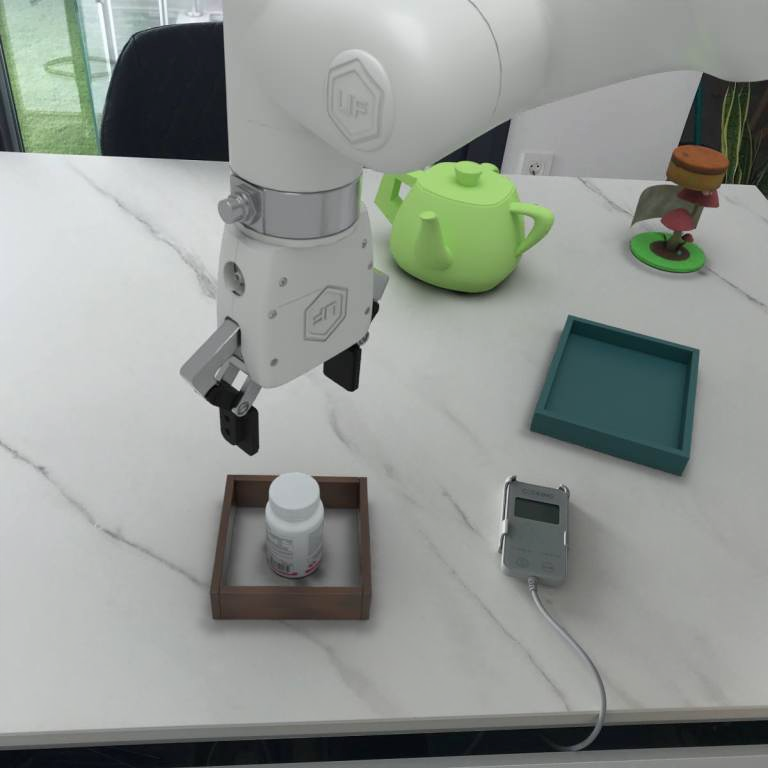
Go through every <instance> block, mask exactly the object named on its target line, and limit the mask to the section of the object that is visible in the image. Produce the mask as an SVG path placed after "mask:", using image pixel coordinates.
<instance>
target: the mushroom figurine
mask: <svg viewBox="0 0 768 768" xmlns="http://www.w3.org/2000/svg"><path fill="white" fill-rule="evenodd" d="M729 165H730V160H729V159H728V157H727V156H726V155H725V154H724V153H722V152H720V151H718V150H716V149H713V148H711V147H706V146H701V145H696V144H685V145H680V146H677V147H675V148H674V149H673V151H672V154H671V156H670V160H669V163H668V165H667V169H666V172H665V177H666V178H667V179H668V180H669V181H670V182H672V183H673V184H665V183H664V184H655V185H650V186H648V187H646V188H645V189H644V190H643V191H642V192H641V194H640V196H639V198H638V201H637V204H636V207H635V211H634V215H633V218H632V220H631V224H630V227H629V229H631V228H632V227H633V226H634V225H635V224H637V223H639V222H642V221H647V220H648V221H649V220H651V219H652V220H653V219H660V220H659V221H660V223H661V225H663V226H664V227H665V228H666V229H668V230H671V231H673V233H668V232H663V231H646V232H641V233H639V234H636V235H635V236H633V238H632V239H631V240H630V244H629V247H630V251H631V253H632V254H633V255H634V256H635V257H636V258H637V259H638V260H640V262H643V263H644V264H646V265H648V266H651V267H653V268H655V269H658V270H662V271H666V272H673V273H689V272H690V273H691V272H694V271H697V270H699V269H701V268H702V267H703V266H704V264H705V261H706V254H705V252H704V251H703V249H702V248H701V247H700V246H698V245H697V244H696V243H694V236H693V234H691V233H690V231H693V230H696V229H697V227H698V224H699V221H700V219H701V216H702V214H703V211H704V209H705V208H711V209H718V208H720V200H719V199H720V198H719V193H718V190H719V189H720V188H721V187H722V183H723V181H724V178H725V175H726V173H727V170H728V167H729ZM684 232H687V233H684Z"/></svg>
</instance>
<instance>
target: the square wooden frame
mask: <svg viewBox="0 0 768 768" xmlns="http://www.w3.org/2000/svg"><path fill="white" fill-rule="evenodd" d="M280 475H281V474H279V475H278V474H277V475H276V474H231V473H230V474H227V475H226V479H225V487H224V494H223V500H222V506H221V513H220V521H219V526H218V527H219V528H218V534H217V541H216V548H215V554H214V559H213V567H212V575H211V582H210V588H209V599H210V609H211V617H212V619H213V620H309V621H310V620H312V621H313V620H322V621H325V620H326V621H328V620H330V621H332V620H335V621H336V620H337V621H338V620H339V621H343V620H344V621H345V620H347V621H350V620H351V621H352V620H353V621H356V620H357V621H360V620H361V621H363V620H364V621H369V620H370V614H371V605H372V596H373V589H372V587H373V586H372V564H371V563H372V562H371V542H370V541H371V540H370V539H371V538H370V537H371V536H370V516H369V513H370V512H369V490H368V488H369V487H368V477H367V476H338V475H337V476H336V475H335V476H332V475H331V476H327V475H310V476H311V477H312V478H314V479H315V480H316V482H317V483H318V485H319V490H320V500H321V501H322V504H323V507H324V509H356V511H357V542H358V544H357V547H358V548H357V549H358V578H359V579H358V582H359V586H300V585H299V586H291V585H290V586H288V585H286V586H283V585H281V586H280V585H278V586H277V585H274V586H273V585H227V579H228V572H229V571H228V570H229V563H230V557H231V556H230V555H231V549H232V548H231V547H232V539H233V532H234V526H235V517H236V509H237V507H252V508H253V507H254V508H256V507H258V508H259V507H260V508H262V507H263V508H266V505H267V503H268V501H269V488H270V485H271V484H272V482H273V481H274V480H275V479H276V478H277V477H279V476H280Z"/></svg>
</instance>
